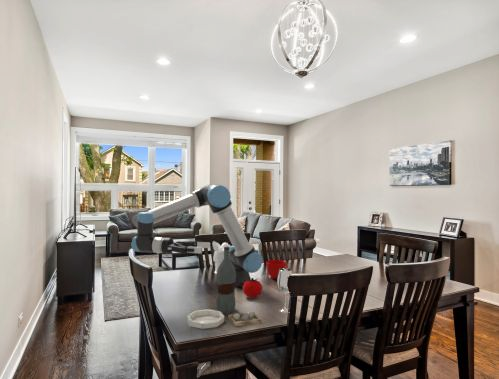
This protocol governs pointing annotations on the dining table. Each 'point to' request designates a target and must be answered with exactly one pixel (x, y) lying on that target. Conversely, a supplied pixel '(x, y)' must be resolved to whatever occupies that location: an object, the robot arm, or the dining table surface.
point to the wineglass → (283, 285)
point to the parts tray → (247, 322)
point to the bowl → (205, 319)
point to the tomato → (252, 288)
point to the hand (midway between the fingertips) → (206, 247)
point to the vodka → (226, 284)
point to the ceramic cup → (275, 267)
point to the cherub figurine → (218, 254)
